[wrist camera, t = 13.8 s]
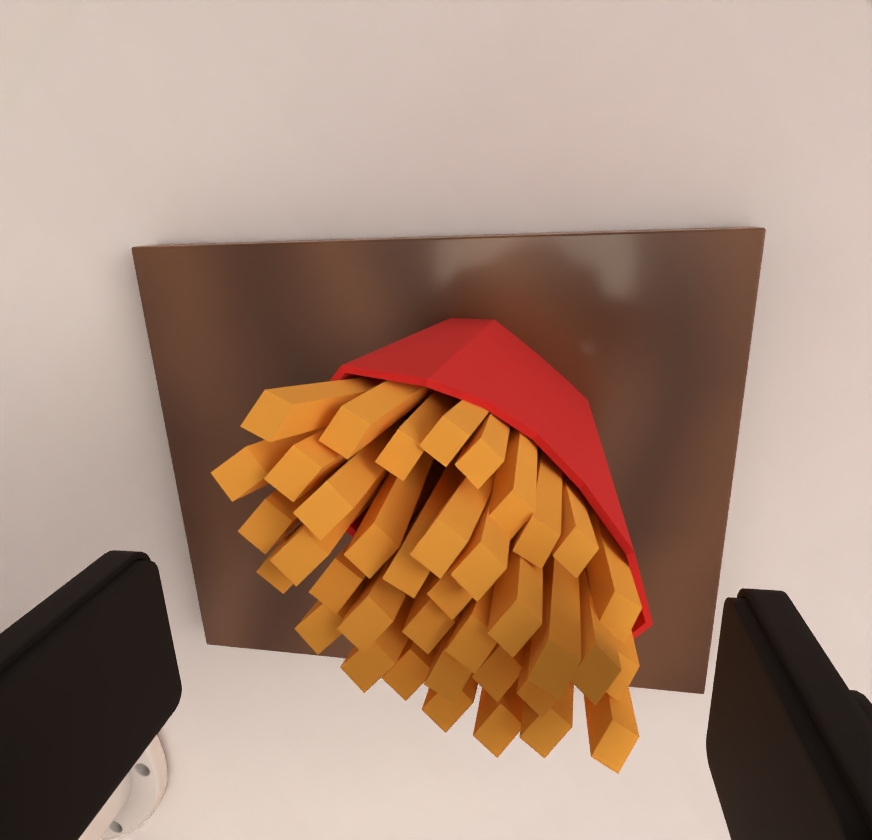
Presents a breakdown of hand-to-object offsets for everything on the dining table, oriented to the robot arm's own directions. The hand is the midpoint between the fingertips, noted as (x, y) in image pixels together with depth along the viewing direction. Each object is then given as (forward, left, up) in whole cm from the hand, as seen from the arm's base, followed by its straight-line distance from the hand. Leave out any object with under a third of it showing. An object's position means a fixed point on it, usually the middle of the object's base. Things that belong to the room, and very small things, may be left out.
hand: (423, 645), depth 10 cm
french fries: (0, 0, -13) cm, 13 cm away
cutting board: (-3, -3, -15) cm, 15 cm away
